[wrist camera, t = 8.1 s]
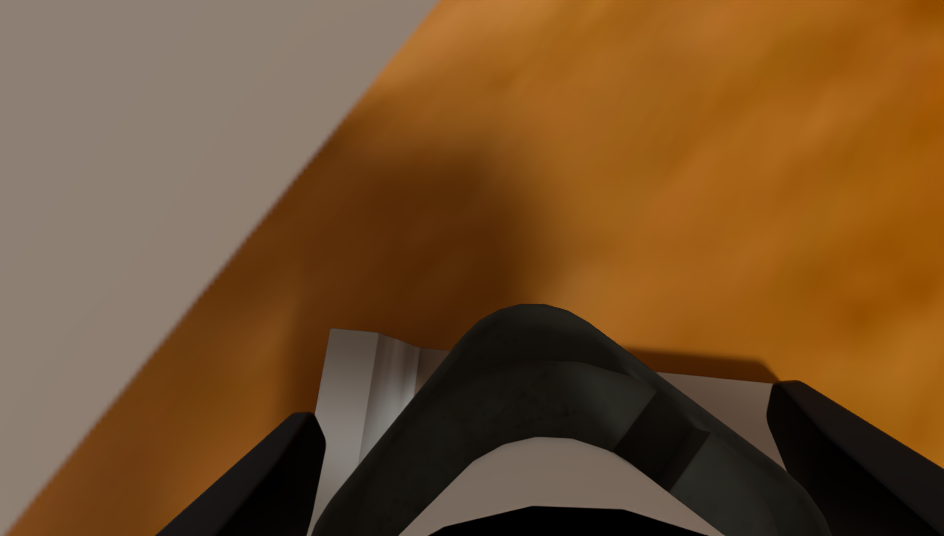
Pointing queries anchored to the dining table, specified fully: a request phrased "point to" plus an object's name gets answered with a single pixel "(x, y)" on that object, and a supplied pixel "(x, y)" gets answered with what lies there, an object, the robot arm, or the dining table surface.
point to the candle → (561, 449)
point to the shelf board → (408, 368)
